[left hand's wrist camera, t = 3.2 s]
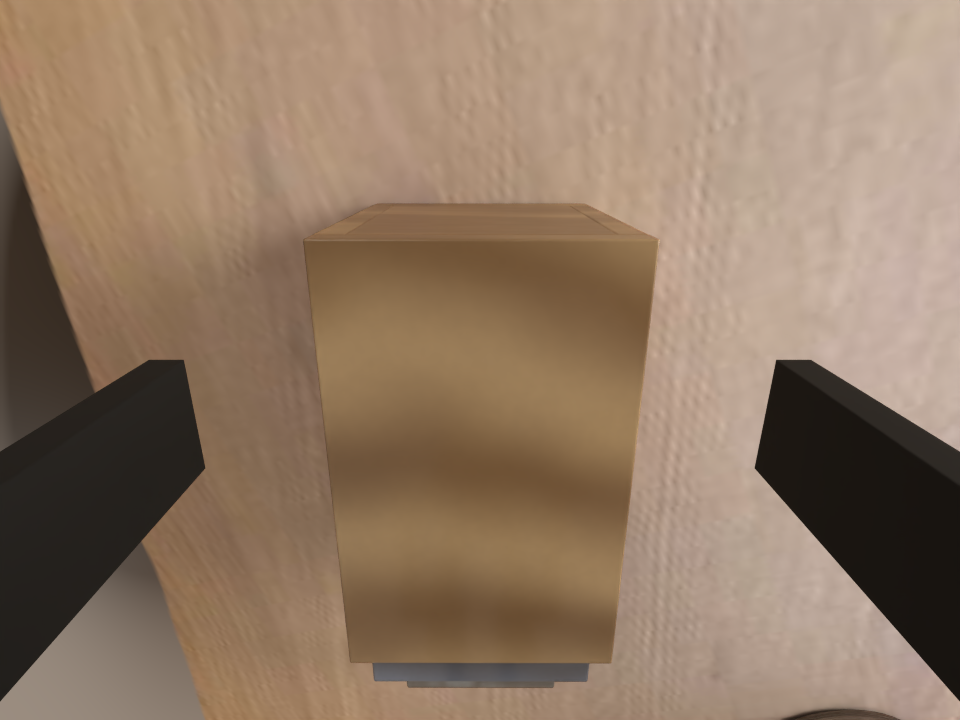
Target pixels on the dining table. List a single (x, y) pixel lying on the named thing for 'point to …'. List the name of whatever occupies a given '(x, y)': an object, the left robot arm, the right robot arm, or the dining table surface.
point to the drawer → (481, 674)
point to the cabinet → (481, 424)
